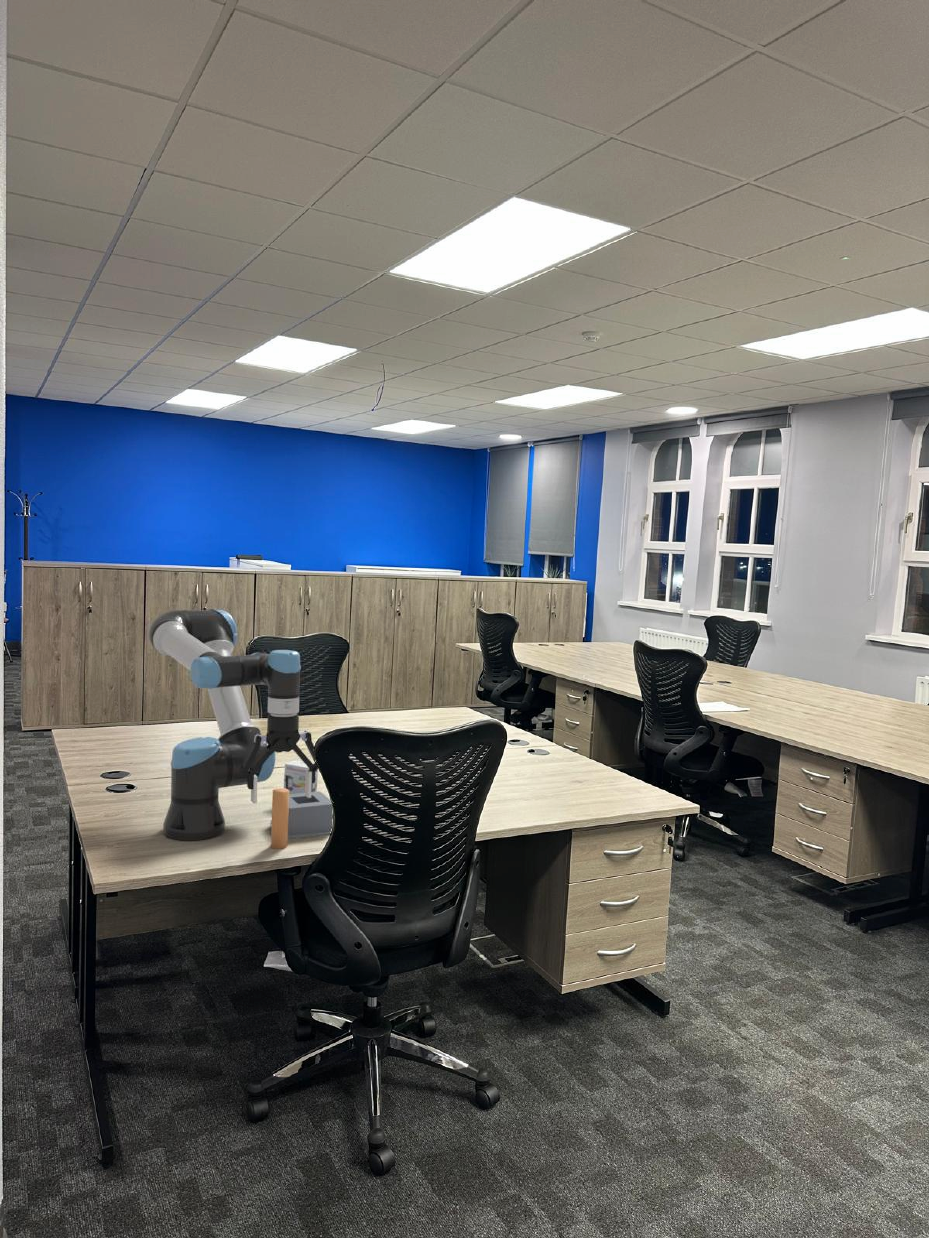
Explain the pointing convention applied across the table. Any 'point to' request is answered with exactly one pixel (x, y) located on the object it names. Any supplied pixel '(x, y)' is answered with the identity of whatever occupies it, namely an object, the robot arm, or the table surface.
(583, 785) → the table surface
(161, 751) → the table surface
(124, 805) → the table surface
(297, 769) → the ink box
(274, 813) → the dowel
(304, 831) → the socket block
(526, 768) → the table surface
